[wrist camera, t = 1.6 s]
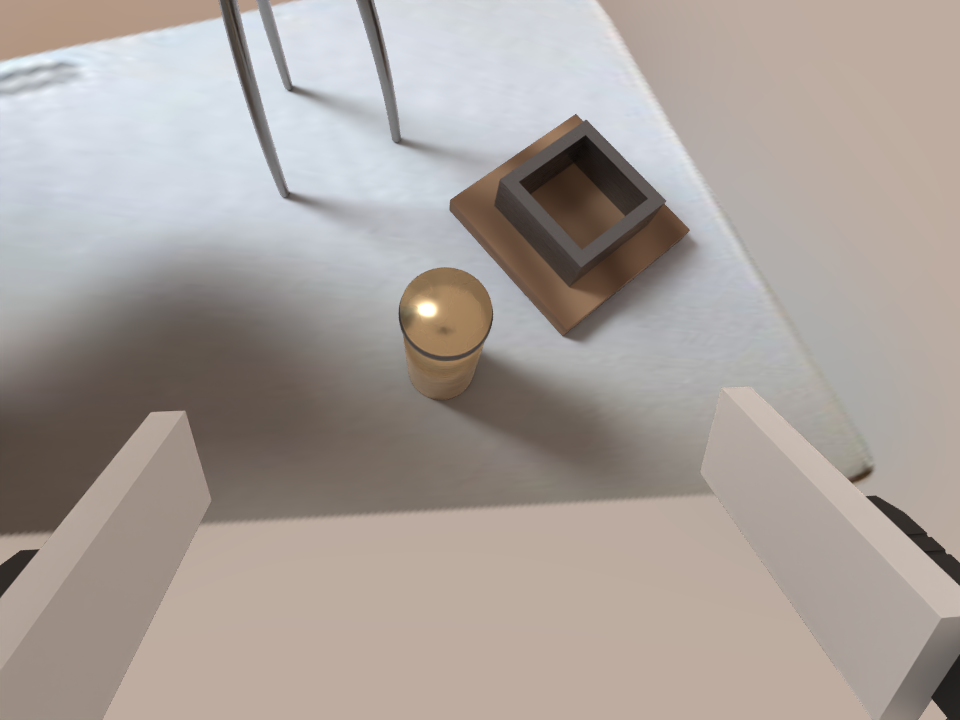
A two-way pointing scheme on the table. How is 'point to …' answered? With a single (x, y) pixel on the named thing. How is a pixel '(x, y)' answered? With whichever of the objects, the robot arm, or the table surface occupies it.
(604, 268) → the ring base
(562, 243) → the grey square frame
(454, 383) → the gold canister
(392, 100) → the juicer
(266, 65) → the table surface
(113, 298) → the table surface
